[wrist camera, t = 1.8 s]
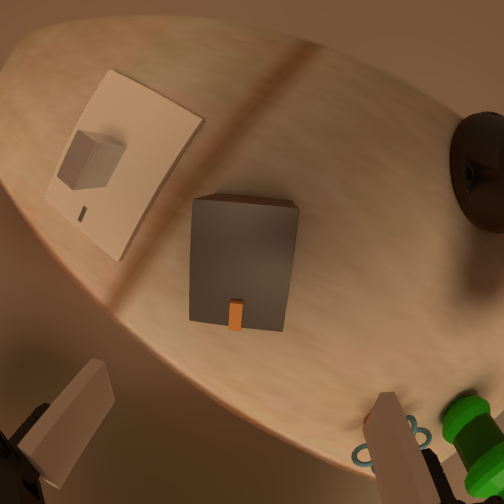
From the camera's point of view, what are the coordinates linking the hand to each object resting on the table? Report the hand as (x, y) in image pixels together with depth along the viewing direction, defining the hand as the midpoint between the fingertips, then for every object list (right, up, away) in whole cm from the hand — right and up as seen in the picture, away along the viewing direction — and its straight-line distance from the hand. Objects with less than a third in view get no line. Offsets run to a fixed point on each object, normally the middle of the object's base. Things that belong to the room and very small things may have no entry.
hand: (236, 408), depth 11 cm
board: (-15, +17, +17) cm, 28 cm away
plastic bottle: (+37, -21, +23) cm, 48 cm away
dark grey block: (0, +8, +18) cm, 19 cm away
